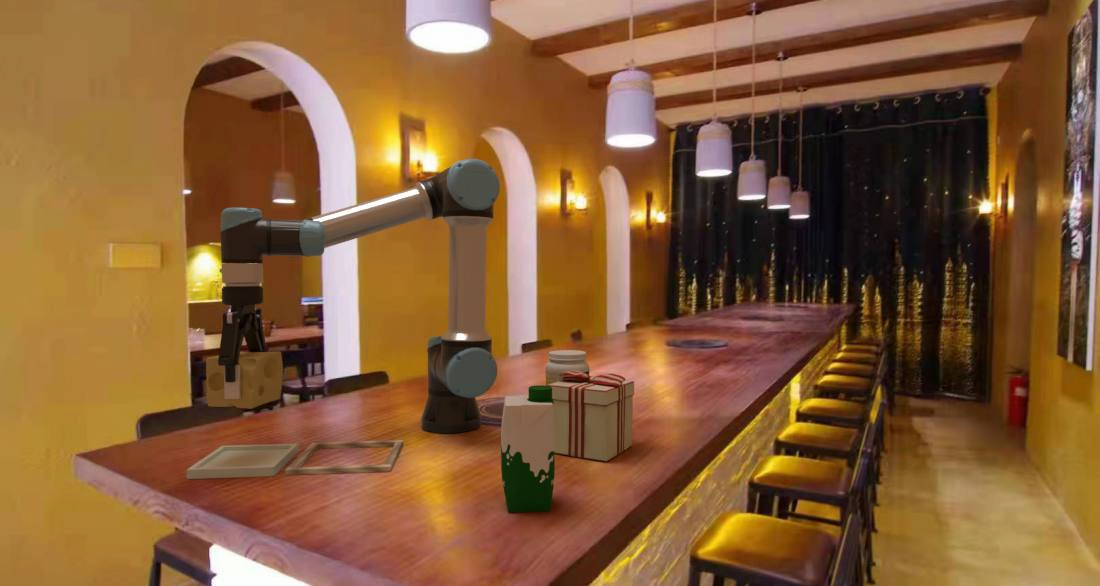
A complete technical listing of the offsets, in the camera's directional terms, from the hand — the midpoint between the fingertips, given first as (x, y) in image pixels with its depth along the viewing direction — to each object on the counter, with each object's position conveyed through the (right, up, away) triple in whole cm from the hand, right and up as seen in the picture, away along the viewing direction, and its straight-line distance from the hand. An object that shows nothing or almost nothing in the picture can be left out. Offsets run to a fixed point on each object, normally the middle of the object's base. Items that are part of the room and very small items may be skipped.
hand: (244, 392), depth 127 cm
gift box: (+71, -15, +13) cm, 74 cm away
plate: (0, -15, +1) cm, 15 cm away
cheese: (0, -2, 0) cm, 2 cm away
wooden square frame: (+20, -15, +5) cm, 25 cm away
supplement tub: (+67, -13, +45) cm, 82 cm away
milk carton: (+58, -16, -21) cm, 64 cm away
